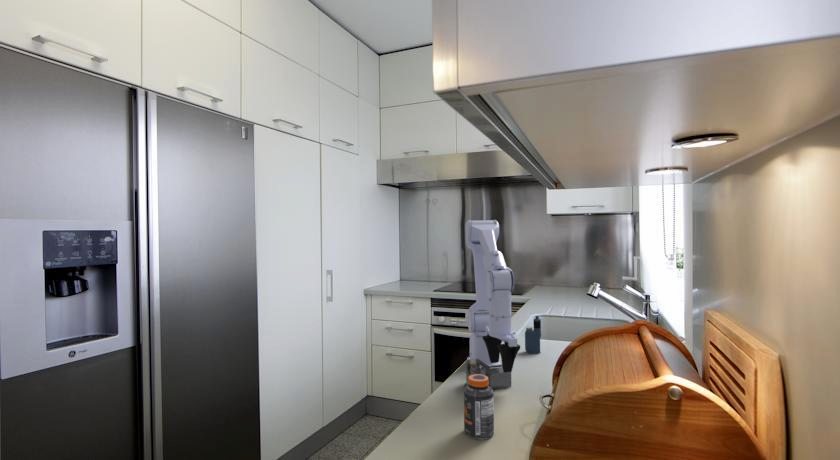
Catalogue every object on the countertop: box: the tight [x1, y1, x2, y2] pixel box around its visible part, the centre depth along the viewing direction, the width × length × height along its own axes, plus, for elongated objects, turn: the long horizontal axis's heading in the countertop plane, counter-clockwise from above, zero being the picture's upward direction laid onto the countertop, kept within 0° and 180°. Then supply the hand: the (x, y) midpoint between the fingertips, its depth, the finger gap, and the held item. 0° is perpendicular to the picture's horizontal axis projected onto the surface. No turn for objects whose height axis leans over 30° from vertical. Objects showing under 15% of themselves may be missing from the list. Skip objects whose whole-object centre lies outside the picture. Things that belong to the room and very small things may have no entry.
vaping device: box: [524, 315, 542, 354], centre depth 141 cm, size 3×5×12 cm, turn 78°
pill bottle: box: [463, 374, 495, 440], centre depth 85 cm, size 6×6×11 cm
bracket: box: [476, 359, 491, 387], centre depth 110 cm, size 7×1×6 cm, turn 16°
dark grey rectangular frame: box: [466, 359, 482, 374], centre depth 109 cm, size 7×1×7 cm, turn 16°
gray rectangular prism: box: [465, 366, 512, 390], centre depth 110 cm, size 4×11×4 cm, turn 106°
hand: (500, 366), depth 112 cm, fingers open, 7 cm apart
